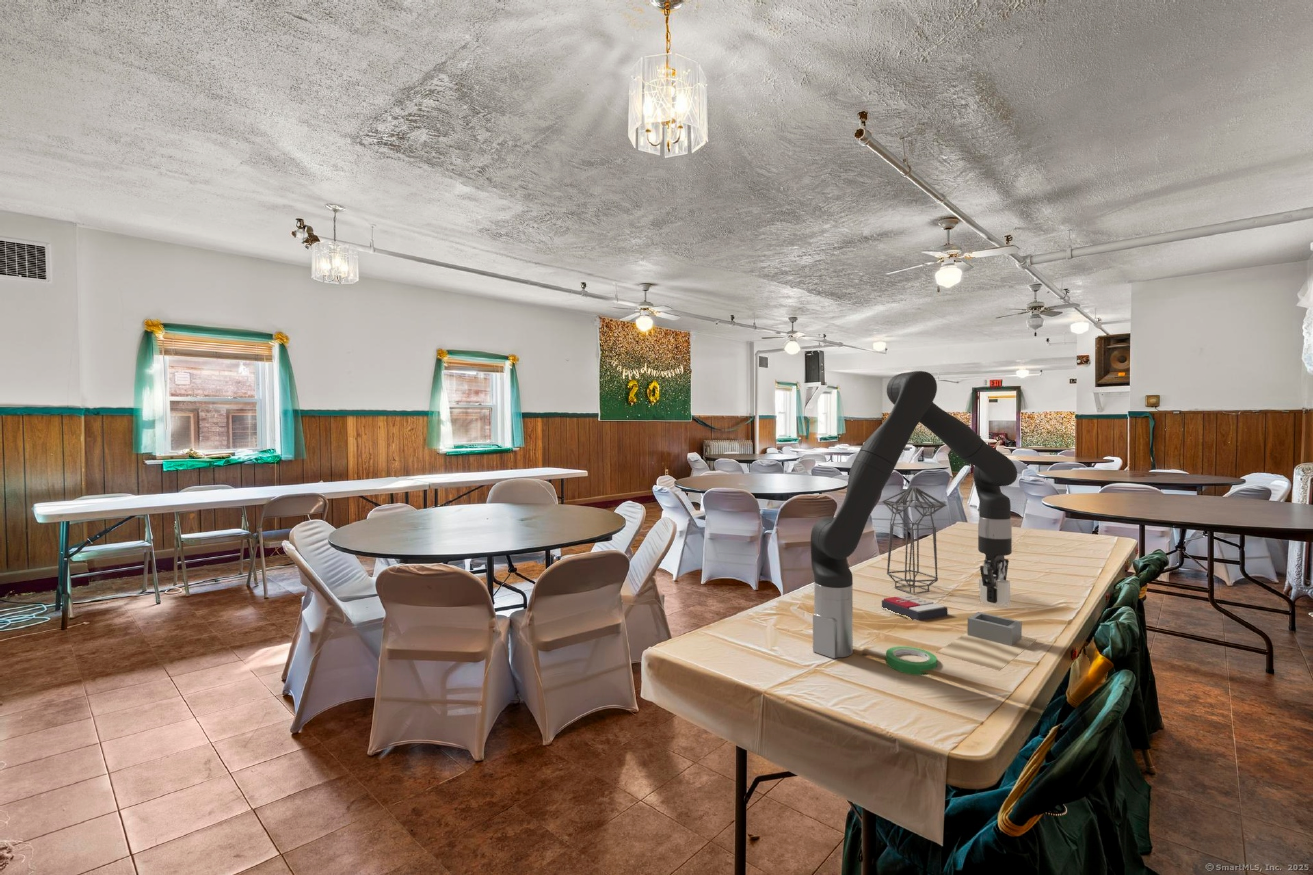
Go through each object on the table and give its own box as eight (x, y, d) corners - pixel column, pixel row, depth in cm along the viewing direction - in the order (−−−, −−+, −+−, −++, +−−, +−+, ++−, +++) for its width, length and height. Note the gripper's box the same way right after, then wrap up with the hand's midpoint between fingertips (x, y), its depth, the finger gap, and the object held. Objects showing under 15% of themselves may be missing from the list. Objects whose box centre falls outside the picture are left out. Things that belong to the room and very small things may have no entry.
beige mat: (999, 674, 131) (999, 670, 131) (936, 656, 142) (936, 652, 142) (1036, 643, 149) (1036, 639, 149) (978, 628, 160) (978, 625, 160)
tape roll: (894, 652, 145) (894, 642, 145) (942, 664, 138) (942, 653, 138) (879, 667, 137) (879, 656, 136) (929, 680, 130) (929, 669, 129)
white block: (1005, 606, 147) (1005, 583, 147) (978, 601, 152) (978, 578, 152) (1009, 603, 150) (1009, 580, 149) (983, 598, 154) (983, 576, 154)
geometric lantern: (877, 585, 202) (878, 485, 201) (914, 582, 206) (915, 484, 206) (910, 598, 187) (911, 490, 186) (949, 594, 191) (950, 488, 191)
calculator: (908, 593, 182) (948, 605, 168) (909, 607, 182) (948, 620, 168) (880, 597, 178) (918, 610, 164) (881, 611, 178) (919, 625, 164)
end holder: (1011, 646, 145) (1011, 628, 145) (967, 635, 153) (967, 618, 152) (1021, 638, 150) (1021, 621, 150) (978, 628, 157) (978, 611, 157)
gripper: (1001, 541, 143) (1000, 610, 143) (1020, 532, 152) (1020, 597, 153) (968, 536, 148) (968, 603, 149) (988, 529, 158) (988, 591, 158)
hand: (994, 600), depth 151 cm, fingers closed on white block, 3 cm apart
